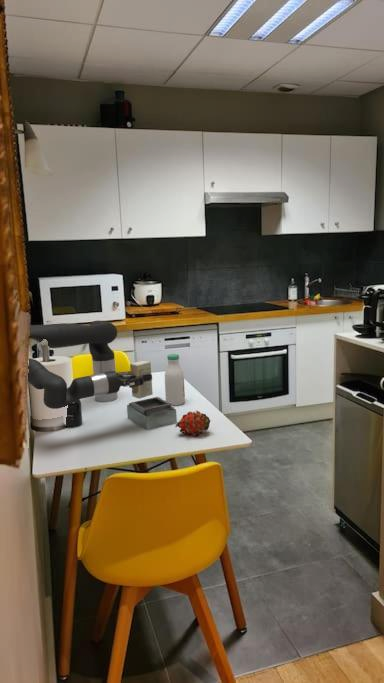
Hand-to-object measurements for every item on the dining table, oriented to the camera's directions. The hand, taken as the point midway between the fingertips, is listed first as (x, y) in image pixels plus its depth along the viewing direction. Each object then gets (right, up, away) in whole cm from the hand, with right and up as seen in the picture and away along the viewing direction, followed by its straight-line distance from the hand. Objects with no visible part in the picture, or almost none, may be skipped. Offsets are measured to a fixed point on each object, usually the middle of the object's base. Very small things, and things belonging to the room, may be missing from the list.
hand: (147, 375), depth 177 cm
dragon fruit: (+16, -19, -9) cm, 27 cm away
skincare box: (-2, -7, 0) cm, 8 cm away
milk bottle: (+9, -13, +25) cm, 29 cm away
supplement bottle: (-28, -18, +5) cm, 34 cm away
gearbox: (+1, -17, +6) cm, 18 cm away
